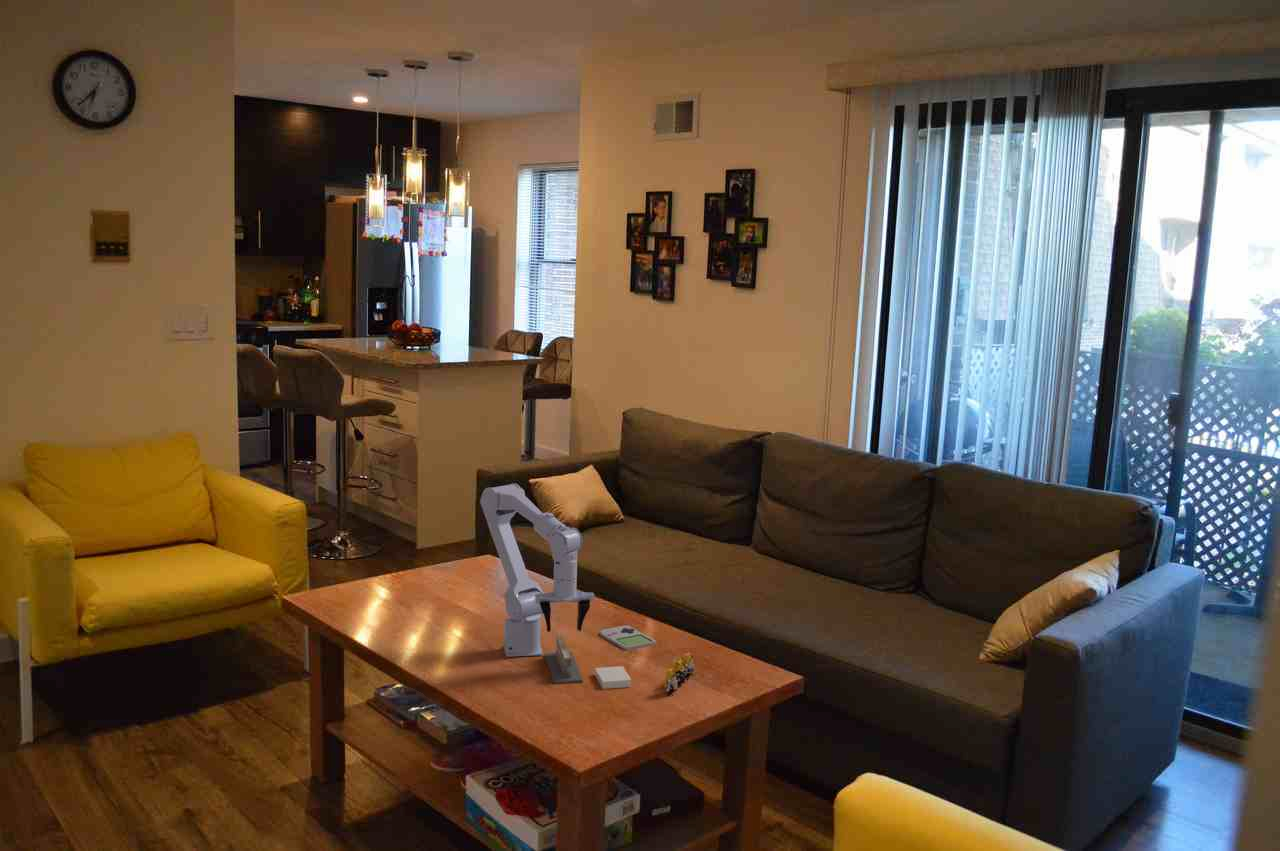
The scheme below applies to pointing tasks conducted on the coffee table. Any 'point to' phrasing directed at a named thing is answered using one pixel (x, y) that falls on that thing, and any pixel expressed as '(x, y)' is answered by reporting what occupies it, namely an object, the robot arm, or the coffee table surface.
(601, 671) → the tile
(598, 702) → the coffee table surface
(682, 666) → the figurine set
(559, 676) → the rubber mat
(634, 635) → the handheld gaming console
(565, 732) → the coffee table surface
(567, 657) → the beige bar
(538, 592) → the robot arm
